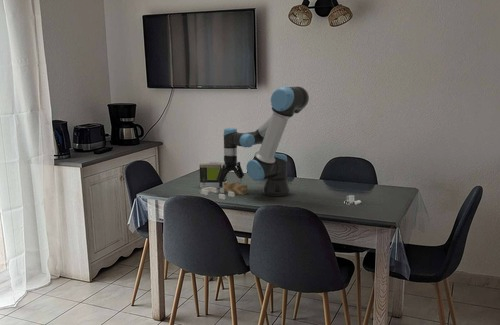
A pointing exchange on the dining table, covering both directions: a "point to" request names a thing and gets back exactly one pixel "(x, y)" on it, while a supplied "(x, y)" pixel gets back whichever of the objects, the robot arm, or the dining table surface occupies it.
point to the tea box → (210, 174)
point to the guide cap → (231, 194)
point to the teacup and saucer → (352, 200)
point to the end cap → (208, 190)
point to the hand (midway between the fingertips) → (230, 190)
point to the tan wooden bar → (235, 188)
